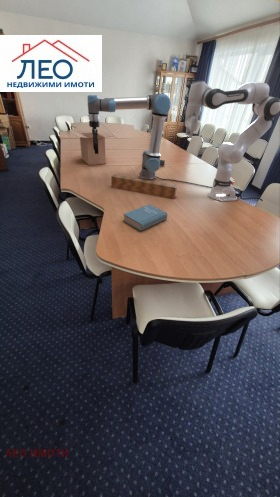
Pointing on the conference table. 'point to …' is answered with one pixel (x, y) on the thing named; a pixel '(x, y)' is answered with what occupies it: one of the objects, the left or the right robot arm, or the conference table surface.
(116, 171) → the conference table surface
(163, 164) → the laser sight
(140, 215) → the book
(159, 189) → the post
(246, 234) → the conference table surface
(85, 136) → the box
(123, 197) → the conference table surface
